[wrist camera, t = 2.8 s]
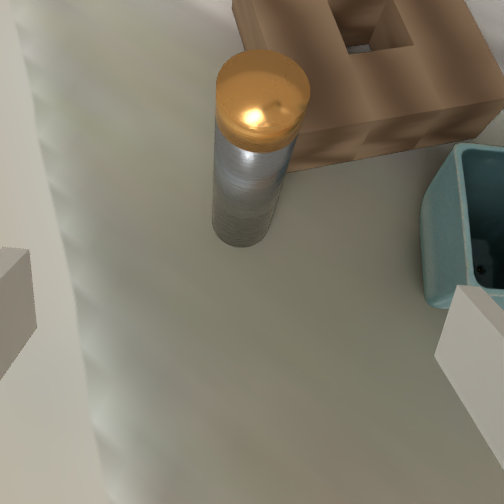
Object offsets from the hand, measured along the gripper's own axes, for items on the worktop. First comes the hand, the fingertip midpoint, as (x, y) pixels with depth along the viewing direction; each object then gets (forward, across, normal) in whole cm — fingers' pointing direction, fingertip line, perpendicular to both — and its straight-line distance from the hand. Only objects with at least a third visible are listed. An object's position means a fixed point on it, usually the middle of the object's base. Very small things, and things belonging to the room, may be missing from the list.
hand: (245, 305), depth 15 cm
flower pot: (+17, +16, -6) cm, 24 cm away
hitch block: (+28, +8, +6) cm, 30 cm away
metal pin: (+18, 0, -4) cm, 19 cm away
